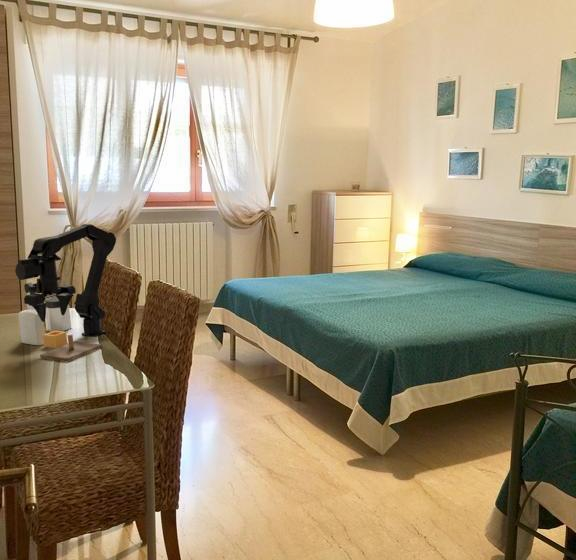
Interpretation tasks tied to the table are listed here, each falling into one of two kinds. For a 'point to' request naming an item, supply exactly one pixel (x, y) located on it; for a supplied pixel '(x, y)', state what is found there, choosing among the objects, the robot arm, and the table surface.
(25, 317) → the white flat bottle
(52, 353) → the peg board
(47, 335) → the orange square block
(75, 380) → the table surface
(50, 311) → the jar
